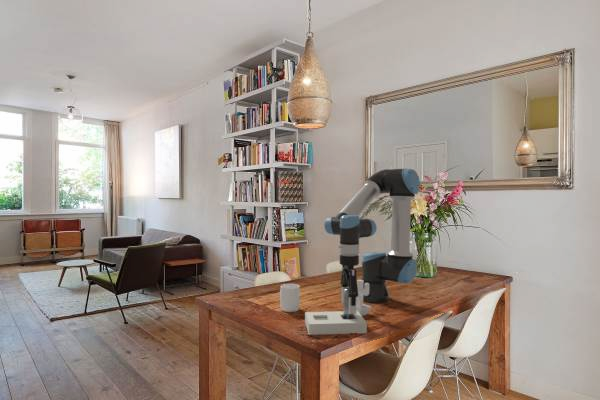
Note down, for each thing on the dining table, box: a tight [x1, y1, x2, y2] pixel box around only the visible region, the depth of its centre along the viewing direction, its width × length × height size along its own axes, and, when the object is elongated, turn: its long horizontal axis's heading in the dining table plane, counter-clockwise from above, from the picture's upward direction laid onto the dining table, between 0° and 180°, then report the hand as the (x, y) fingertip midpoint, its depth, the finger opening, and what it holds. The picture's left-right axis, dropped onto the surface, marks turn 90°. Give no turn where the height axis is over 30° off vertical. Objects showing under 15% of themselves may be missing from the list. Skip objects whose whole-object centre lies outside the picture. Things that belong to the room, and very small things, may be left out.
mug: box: [279, 283, 301, 313], centre depth 171 cm, size 9×12×11 cm
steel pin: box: [343, 288, 354, 319], centre depth 148 cm, size 4×4×14 cm
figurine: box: [356, 279, 372, 317], centre depth 164 cm, size 7×9×15 cm
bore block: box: [304, 310, 368, 336], centre depth 147 cm, size 22×14×4 cm, turn 95°
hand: (348, 308), depth 148 cm, fingers open, 13 cm apart
